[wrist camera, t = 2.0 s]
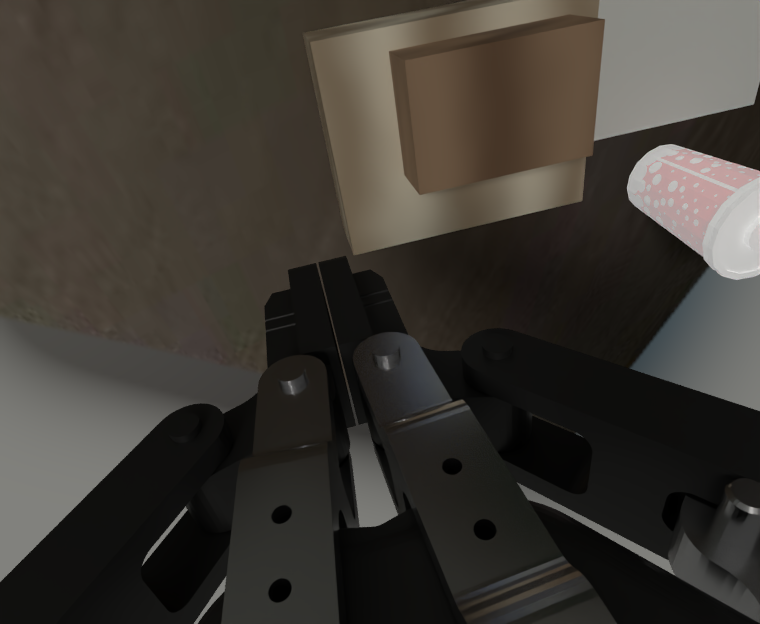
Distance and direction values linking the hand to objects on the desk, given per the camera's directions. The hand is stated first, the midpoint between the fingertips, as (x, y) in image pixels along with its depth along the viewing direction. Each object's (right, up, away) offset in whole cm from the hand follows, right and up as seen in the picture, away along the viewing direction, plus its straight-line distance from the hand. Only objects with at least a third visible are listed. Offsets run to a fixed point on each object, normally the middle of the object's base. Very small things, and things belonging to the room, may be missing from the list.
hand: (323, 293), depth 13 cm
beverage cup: (+21, +9, +22) cm, 32 cm away
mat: (+18, +15, +17) cm, 30 cm away
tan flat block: (+5, +11, +17) cm, 21 cm away
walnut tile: (+7, +10, +13) cm, 18 cm away
